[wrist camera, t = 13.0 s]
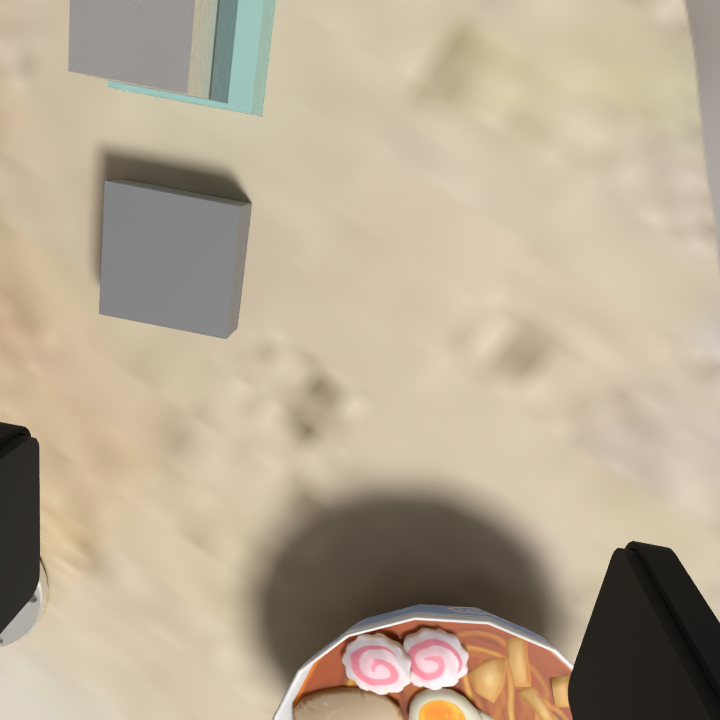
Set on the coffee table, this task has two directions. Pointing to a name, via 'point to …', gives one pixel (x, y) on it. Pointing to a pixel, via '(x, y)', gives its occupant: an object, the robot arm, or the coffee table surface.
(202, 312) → the stand
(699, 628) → the robot arm
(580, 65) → the coffee table surface
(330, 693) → the ramen bowl
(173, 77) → the block
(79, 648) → the coffee table surface
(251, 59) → the stand
